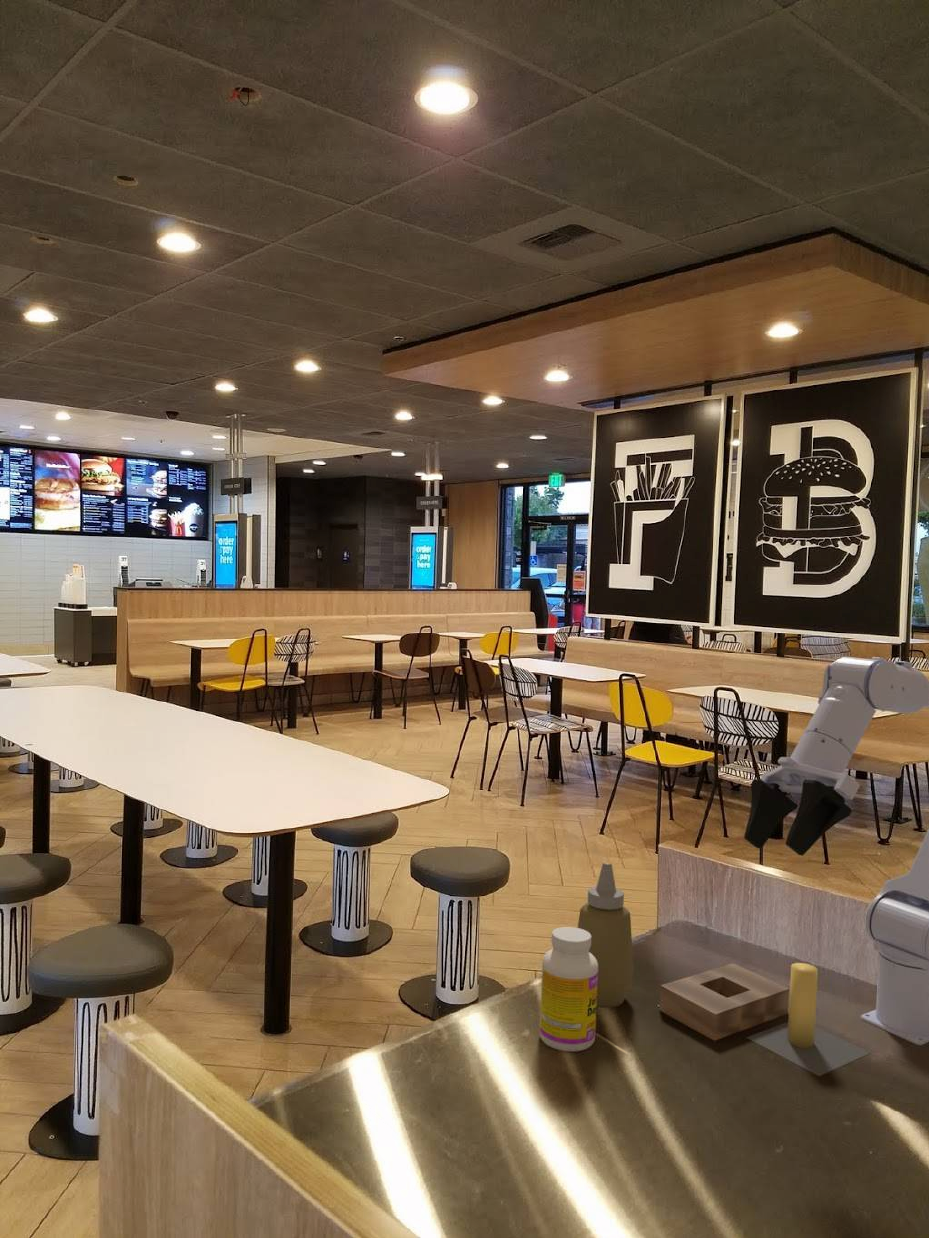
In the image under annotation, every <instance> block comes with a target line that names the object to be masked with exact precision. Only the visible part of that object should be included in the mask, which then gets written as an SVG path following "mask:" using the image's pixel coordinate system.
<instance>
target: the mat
mask: <svg viewBox="0 0 929 1238" xmlns="http://www.w3.org/2000/svg"><path fill="white" fill-rule="evenodd" d="M746 1039H747V1040H750V1041H752V1042H754V1043H755V1044H757V1045H759V1046H761V1047H763V1048H765V1049H766V1050H768V1051H771V1052H772V1053H774V1054H776V1055H777V1056H780V1057H782V1058H784V1059H785V1060H787V1061H789V1062H791V1063H793V1064H795V1065H796V1066H799V1067H800V1068H803V1069H804V1070H806V1071H808V1072H810V1073H812V1074H814V1075H815V1076H817V1077H821V1076H824V1075H825V1074H828V1073H830V1072H833V1071H835V1070H837V1069H839V1068H841V1067H844V1066H845V1065H847V1064H850V1063H852V1062H854V1061H857V1060H860V1059H861V1058H864V1057H866V1056H868V1055H871V1052H869V1051H867V1050H865V1049H863V1048H861V1047H859V1046H858V1045H855V1044H853V1043H851V1042H849V1041H847V1040H845V1039H843V1038H840V1037H838V1036H836V1035H835V1034H831V1032H828V1031H827V1030H824V1029H821V1028H820V1027H818V1026H816V1025H815V1033H814V1046H812V1047H810V1048H802V1047H797V1046H795V1045H793V1044H791V1043H790V1042H789V1041H788V1021H787V1022H786V1021H785V1022H784V1023H781V1024H779V1025H776V1026H773V1027H770V1028H768V1029H765V1030H763V1031H760V1032H757V1033H755V1034H752V1035H749V1036H747V1037H746Z"/></svg>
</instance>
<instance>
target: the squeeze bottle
mask: <svg viewBox="0 0 929 1238" xmlns="http://www.w3.org/2000/svg"><path fill="white" fill-rule="evenodd" d="M596 884H597V885H596V886H592V887H590V888H589V889H588V891H587V903H585V904H583V905H582V906H581V907H580V909H579V916H578V923H577V928H580V929H583V930H585V931H587V932H589V933H590V934H591V947H590V949H589V953H591V954H592V955H593V956H594V957H595V958H596V960H597V963H598V982H597V1007H598V1008H615V1007H618V1006H620V1005H623V1003H624V1001H625V999H626V997H627V995H628V991H629V989H630V987H631V984H632V980H633V979H634V976H635V974H634V956H633V955H634V954H633V953H634V952H633V940H632V937H633V936H632V925H631V924H632V922H631V921H632V920H631V919H632V917H631V913H630V911H629V909H627V908H626V907H625V906H624V903H625V902H624V900H625V893H624V891H623V890H622V889H619V888H616V886H617V885H616V881H615V876H614V870H613V864H612V863H610V862H603V863H602V864H601V869H600V872H599V875H598V881H597V883H596Z"/></svg>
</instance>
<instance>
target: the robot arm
mask: <svg viewBox="0 0 929 1238" xmlns="http://www.w3.org/2000/svg"><path fill="white" fill-rule="evenodd" d="M912 666H913V663H912V662H910V661H909V662H908V661H904V660H903V661H901V660H895V661H894V662H893V661H892V660H889V659H888V660H886V659H885V658H883V657H878V656H877V657H876V656H872V657H871V658H863V657H862V658H861V657H852V656H842V657H840V658H839V659H837V660H835V661H834V662H832V663H831V664H827V665H826V668H825V670H824V674H823V679H822V681H823V684H822V688H821V691H820V694H819V695H818V696H817V697H818V701H817V704H818V706H817V708H816V709H815V712H814V713H813V714H812V717H811V719H810V721H809V722H808V724H807V727H806V728H805V729H804V731H803V733H802V735H801V736H800V738H799V740H798V742H797V744H796V745H795V748H794V750H793V751H792V753H791V755H790V757H789V756H788V757H787V756H786V757H785V756H781V757H779V758H778V760H777V763H778V764H779V766H777V767H776V768H774V769H772V770H770V771H768V770H767V771H764V772H763V774H762V775H761V777H760V779H757V778H755V779H752V782H751V783H750V789H751V790H750V791H751V805H750V811H749V816H748V821H747V824H746V827H745V828H746V829H745V832H744V836H743V838H744V840H746V841H747V842H748V843H749V844H751V846H752V847H754V848H756V849H761V848H762V847H763V846H765V844H766V843H767V841H768V840H769V839H770V837H771V835H772V834H773V833H774V831H775V829H776V828H777V827H778V825H780V823H781V822H782V821H783V820H784V819H785V818H786V817H787V816H788V815H790V814H791V813H792V812H794V811H795V810H796V809H797V813H796V815H795V818H794V820H793V821H792V822H793V823H792V824H791V827H790V829H789V830H788V834H787V837H786V841H785V845H786V846H787V847H788V848H790V849H791V850H792V851H793V852H795V853H796V854H797V855H799V856H804V855H805V854H806V853H807V852H808V851H809V850H810V849H811V848H812V846H814V845H815V843H816V842H817V841H818V840H819V839H820V838H821V837H822V836H823V835H824V834H825V833H826V832H827V831H829V830H830V829H831V828H832V827H834V826H835V825H837V824H838V823H840V822H841V821H842V820H845V819H847V818H849V817H850V816H851V815H852V812H853V809H852V808H850V807H849V805H847V804H846V800H851V801H852V800H853V799H854V798H855V796H856V794H857V792H858V790H859V789H860V786H861V784H860V782H857V781H856V780H855V779H854V778H853V777H852V776H850V775H849V774H847V773H845V770H846V768H847V767H848V765H849V763H850V761H851V759H852V757H853V755H854V753H855V751H856V749H857V747H858V746H859V744H860V742H861V740H862V738H863V736H864V734H865V733H866V730H867V729H868V727H869V726H870V723H871V721H872V719H873V718H874V715H875V713H876V712H877V710H878V711H881V712H891V713H897V714H903V715H911V714H916V713H917V712H919V711H921V710H922V709H923V708H924V707H925V708H929V680H928V678H927V676H926V675H925V674H924V673H923V672H922V671H920V670H919V669H916V668H914V667H912ZM787 793H796V794H797V793H798V794H801V797H800V802H799V805H798V804H797V803H795V801H793V800H792V799H791V798H790V797H789V796H787ZM864 924H865V925H864V926H865V930H866V931H865V932H866V933H867V936H868V937H869V939H870V940H872V941H873V949H874V950H875V951H878V964H877V965H878V966H877V983H876V984H877V985H876V988H877V989H876V1002H875V1009H873V1010H871V1011H868V1012H866V1013H863V1014H861V1015H860V1019H861V1021H863V1022H866V1023H868V1024H870V1025H873V1026H874V1027H877V1028H879V1029H882V1030H883V1031H886V1032H888V1033H891V1034H893V1035H894V1036H897V1037H899V1038H901V1039H904V1040H906V1041H908V1042H911V1043H913V1044H914V1045H917V1046H923V1045H925V1044H927V1043H929V828H928V829H927V832H926V834H925V836H924V839H923V840H922V842H921V845H920V847H919V850H918V852H917V854H916V856H915V858H914V861H913V863H912V865H911V867H910V869H909V871H908V873H907V874H904V875H900V876H897V877H894V878H892V879H889V880H886V881H885V882H884V885H883V886H882V888H881V890H880V892H878V895H877V896H875V897H874V898H873V899H872V900H871V902H870V903H869V905H868V906H867V909H866V912H865V917H864Z"/></svg>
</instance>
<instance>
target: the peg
mask: <svg viewBox="0 0 929 1238" xmlns="http://www.w3.org/2000/svg"><path fill="white" fill-rule="evenodd" d="M818 972H819V970H818V968H817V967H816V966H814V965H812V964H809V963H802V962H795V963H792V964H791V966H790V984H789V986H790V987H789V1004H788V1021H787V1022H788V1041H789V1042H790V1043H791V1044H793V1045H795V1046H797V1047H802V1048H810V1047H812V1046H814V1033H815V1026H816V1013H817V1012H816V1011H817V1010H816V1009H817V995H818V994H817V993H818V991H817V990H818V989H817V988H818V974H819V973H818Z"/></svg>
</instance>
